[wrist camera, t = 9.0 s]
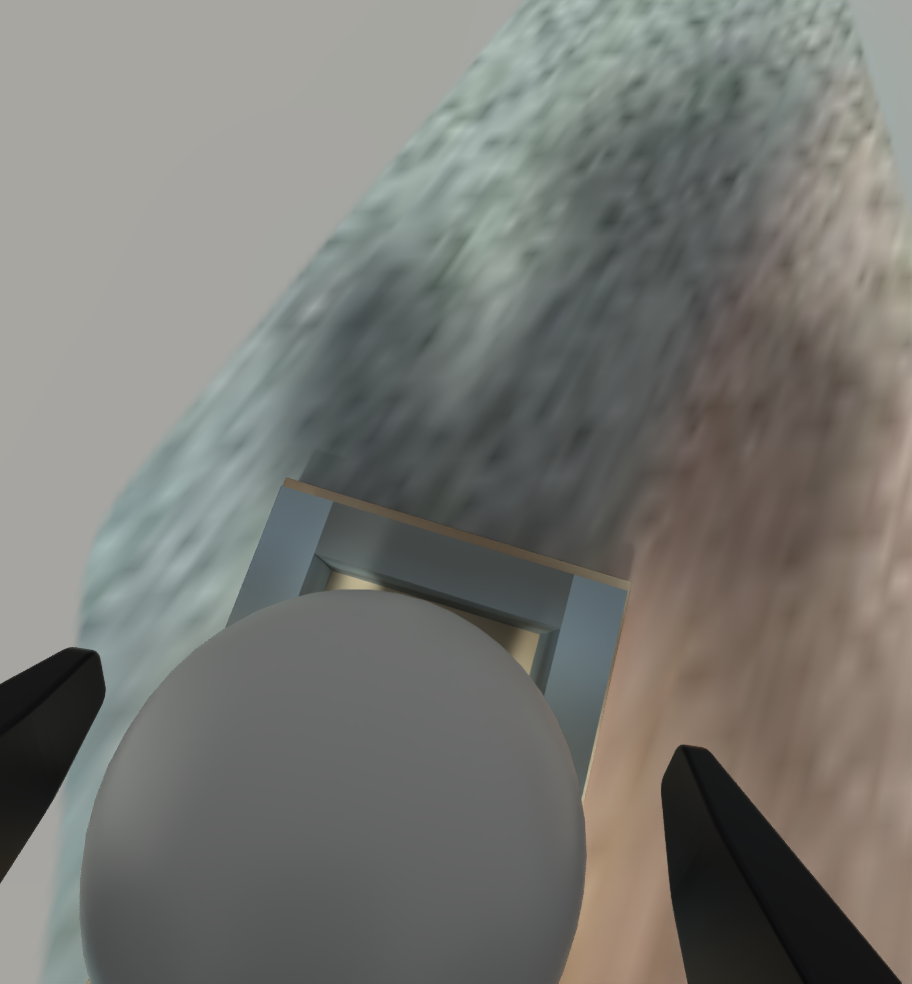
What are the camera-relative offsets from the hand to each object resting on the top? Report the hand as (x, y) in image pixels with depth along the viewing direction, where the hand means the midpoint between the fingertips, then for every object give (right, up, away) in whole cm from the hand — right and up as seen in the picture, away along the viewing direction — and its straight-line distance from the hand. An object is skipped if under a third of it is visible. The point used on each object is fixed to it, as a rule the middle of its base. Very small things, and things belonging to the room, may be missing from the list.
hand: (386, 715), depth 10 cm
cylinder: (0, -3, +8) cm, 8 cm away
